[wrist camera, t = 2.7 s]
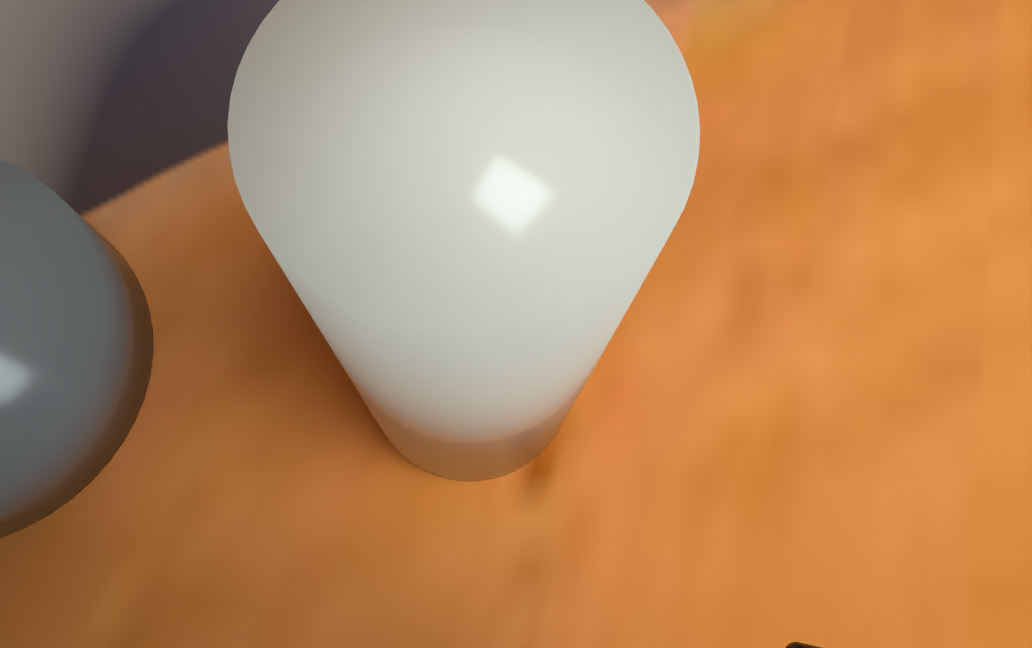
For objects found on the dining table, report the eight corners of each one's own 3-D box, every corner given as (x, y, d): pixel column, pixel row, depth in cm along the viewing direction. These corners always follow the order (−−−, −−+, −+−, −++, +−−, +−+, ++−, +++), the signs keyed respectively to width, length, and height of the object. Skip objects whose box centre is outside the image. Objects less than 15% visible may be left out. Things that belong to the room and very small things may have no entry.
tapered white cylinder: (584, 305, 22) (721, -33, 10) (553, 498, 20) (671, 380, 8) (395, 270, 22) (298, -110, 10) (349, 460, 20) (164, 286, 8)
